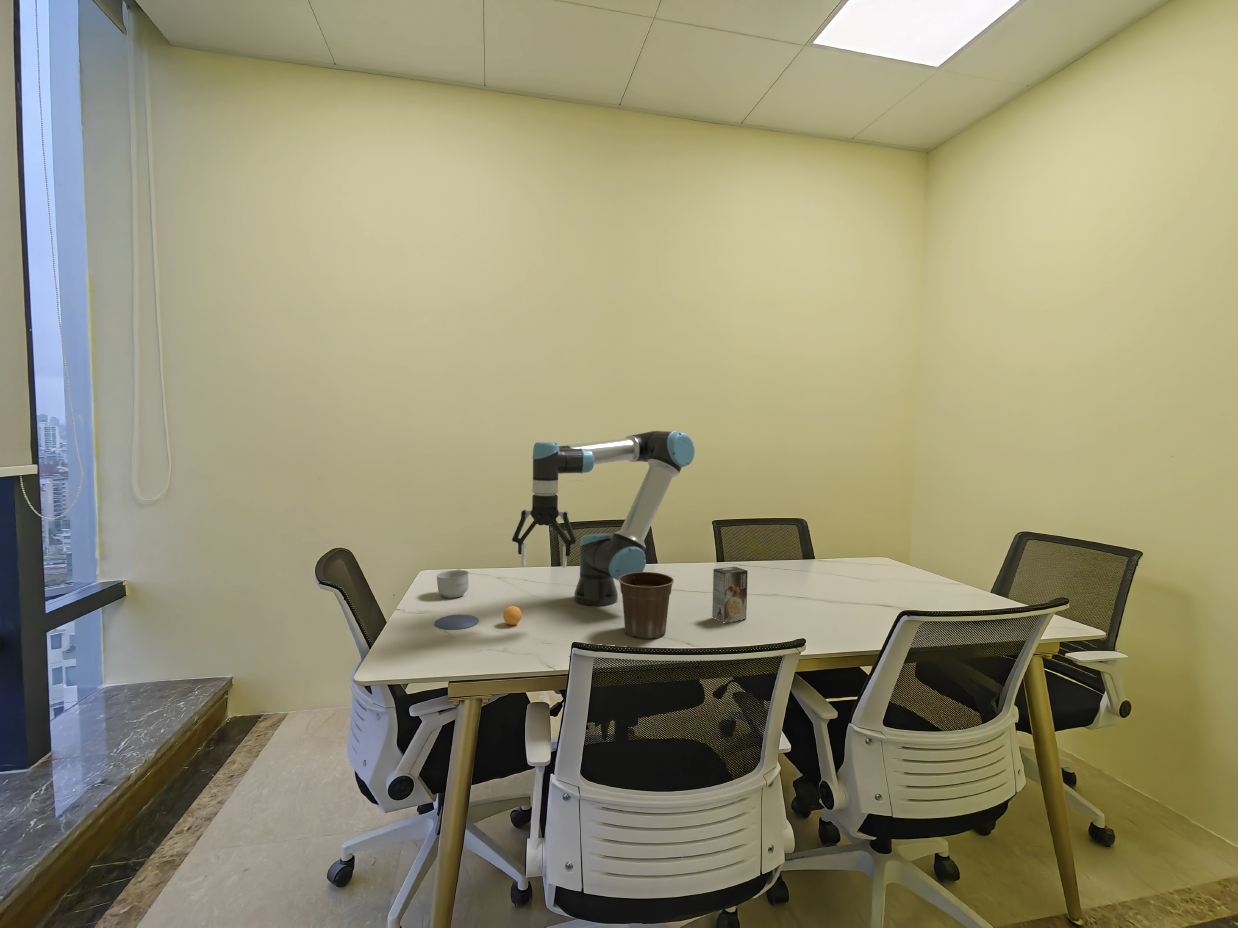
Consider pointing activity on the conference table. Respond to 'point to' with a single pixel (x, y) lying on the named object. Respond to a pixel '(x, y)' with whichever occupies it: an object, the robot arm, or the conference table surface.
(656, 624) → the plant pot
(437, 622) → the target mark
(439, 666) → the conference table surface
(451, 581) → the teacup
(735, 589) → the coffee box
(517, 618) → the ball
